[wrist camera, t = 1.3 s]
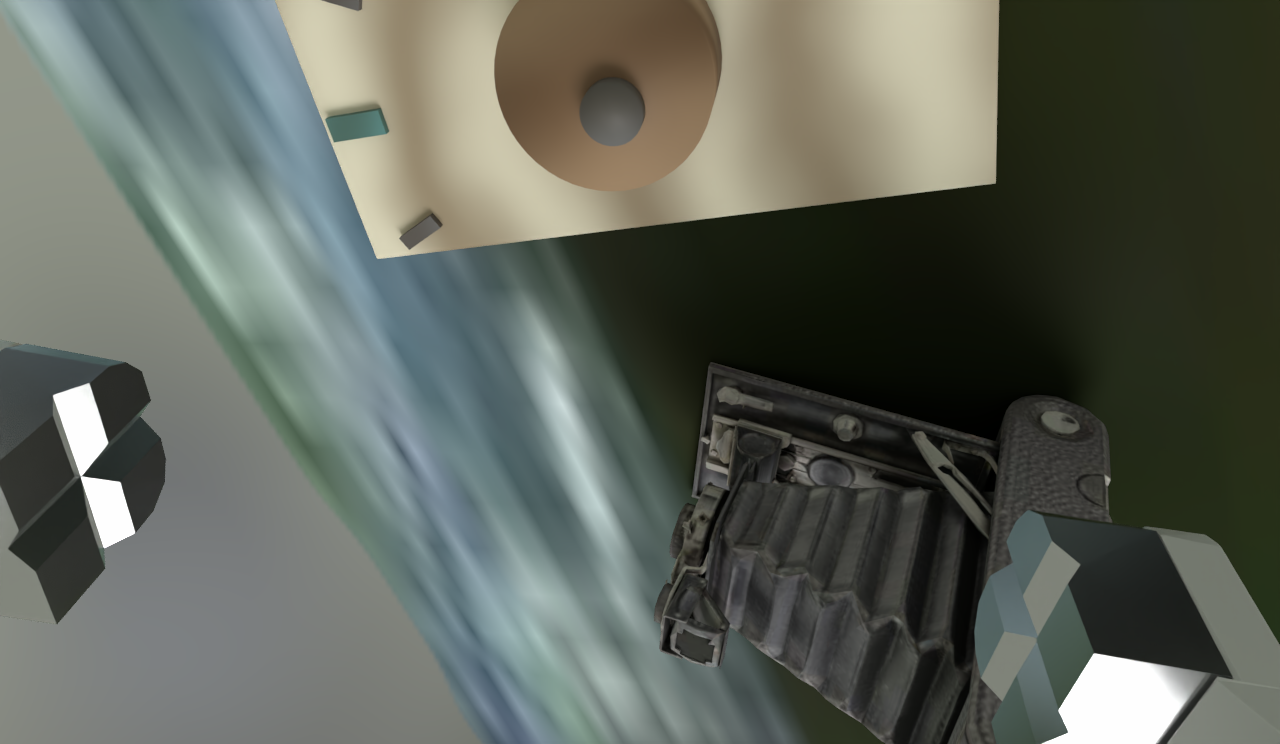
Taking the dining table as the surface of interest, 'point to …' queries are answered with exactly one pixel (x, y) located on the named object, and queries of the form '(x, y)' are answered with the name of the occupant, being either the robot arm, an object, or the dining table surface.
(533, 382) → the dining table surface
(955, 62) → the board
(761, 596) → the camera
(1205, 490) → the dining table surface
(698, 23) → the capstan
